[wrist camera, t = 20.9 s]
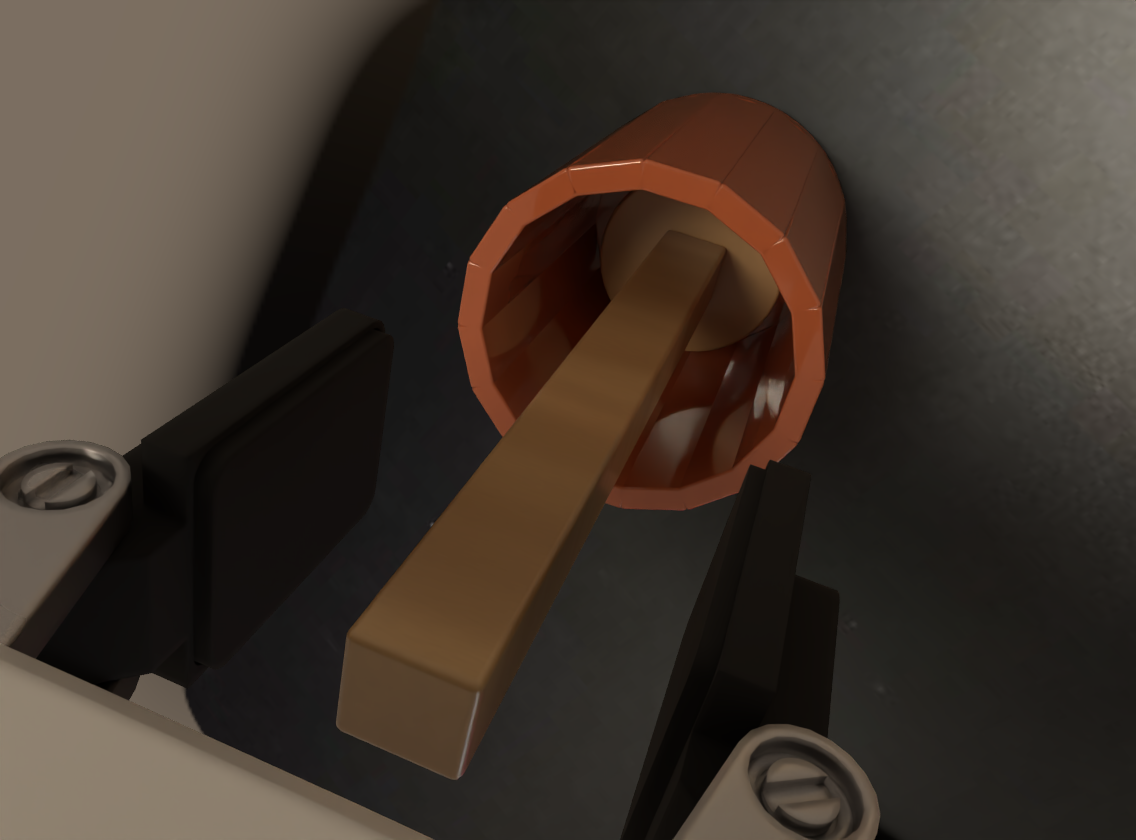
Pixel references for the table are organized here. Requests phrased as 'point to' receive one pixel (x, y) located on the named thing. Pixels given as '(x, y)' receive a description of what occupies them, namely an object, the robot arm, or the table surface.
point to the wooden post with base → (542, 489)
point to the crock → (578, 297)
